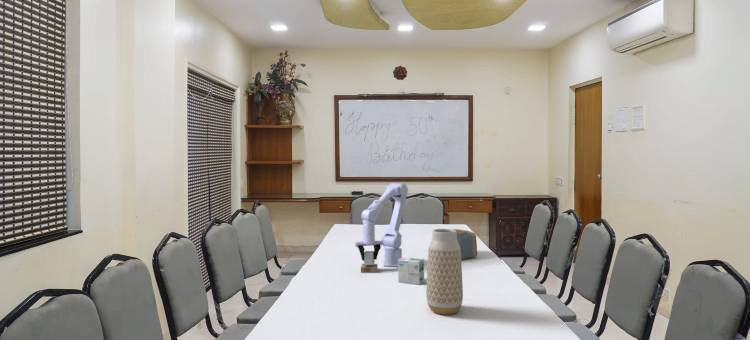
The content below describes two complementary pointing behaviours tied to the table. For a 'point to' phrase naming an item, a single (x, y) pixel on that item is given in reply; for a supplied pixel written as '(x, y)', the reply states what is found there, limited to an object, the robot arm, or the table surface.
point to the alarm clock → (467, 244)
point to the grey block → (369, 257)
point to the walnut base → (369, 268)
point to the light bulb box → (411, 270)
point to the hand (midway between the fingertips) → (369, 259)
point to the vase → (444, 273)
